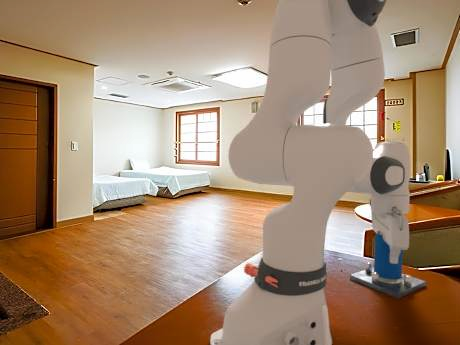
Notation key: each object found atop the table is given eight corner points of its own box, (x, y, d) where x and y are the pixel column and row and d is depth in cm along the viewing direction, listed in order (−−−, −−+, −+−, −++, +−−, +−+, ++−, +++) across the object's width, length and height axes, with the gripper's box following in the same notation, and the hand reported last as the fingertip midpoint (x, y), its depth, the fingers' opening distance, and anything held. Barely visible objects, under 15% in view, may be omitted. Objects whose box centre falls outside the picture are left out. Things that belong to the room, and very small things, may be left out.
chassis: (397, 298, 70) (398, 283, 70) (349, 279, 81) (350, 266, 81) (425, 285, 77) (426, 272, 77) (377, 269, 88) (378, 257, 88)
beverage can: (403, 276, 79) (405, 232, 79) (398, 284, 74) (400, 237, 74) (377, 270, 83) (378, 228, 83) (370, 278, 78) (372, 233, 78)
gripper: (418, 212, 67) (415, 272, 67) (391, 199, 87) (389, 246, 87) (387, 210, 68) (385, 269, 69) (368, 198, 88) (366, 244, 89)
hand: (387, 256), depth 78 cm, fingers open, 8 cm apart
